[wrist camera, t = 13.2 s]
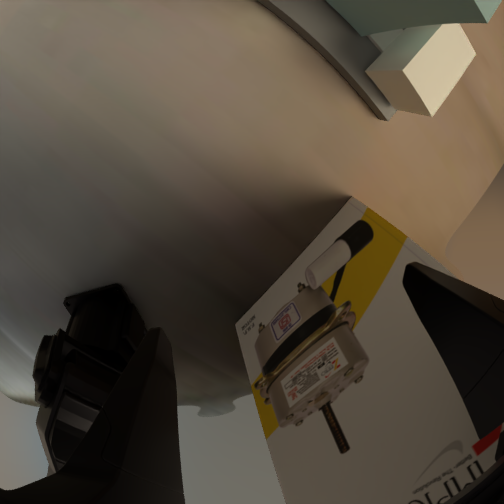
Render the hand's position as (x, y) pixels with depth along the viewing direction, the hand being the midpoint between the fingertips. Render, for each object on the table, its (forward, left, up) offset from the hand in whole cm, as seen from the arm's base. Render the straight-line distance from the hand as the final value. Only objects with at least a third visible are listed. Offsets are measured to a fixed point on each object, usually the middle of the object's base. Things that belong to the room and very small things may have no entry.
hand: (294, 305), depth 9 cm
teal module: (+12, +14, -11) cm, 21 cm away
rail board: (+12, +14, -13) cm, 22 cm away
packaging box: (+9, -14, -13) cm, 21 cm away
